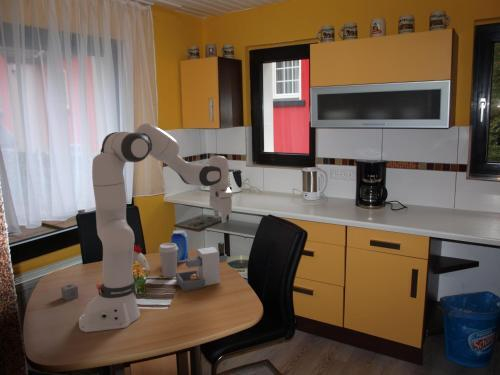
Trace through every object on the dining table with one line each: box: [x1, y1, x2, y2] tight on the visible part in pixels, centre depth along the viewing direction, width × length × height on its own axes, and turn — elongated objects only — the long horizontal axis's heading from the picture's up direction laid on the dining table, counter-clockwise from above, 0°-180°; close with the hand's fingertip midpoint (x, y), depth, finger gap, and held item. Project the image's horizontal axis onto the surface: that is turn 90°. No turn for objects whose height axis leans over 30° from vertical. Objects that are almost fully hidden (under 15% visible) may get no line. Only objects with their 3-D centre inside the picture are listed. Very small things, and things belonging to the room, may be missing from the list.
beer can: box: [170, 229, 189, 264], centre depth 224 cm, size 8×8×16 cm
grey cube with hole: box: [60, 282, 79, 302], centre depth 182 cm, size 5×5×5 cm
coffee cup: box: [157, 242, 178, 278], centre depth 204 cm, size 10×10×15 cm
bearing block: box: [196, 246, 221, 286], centre depth 196 cm, size 8×8×15 cm
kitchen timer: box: [133, 244, 151, 273], centre depth 207 cm, size 14×14×15 cm
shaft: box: [185, 241, 228, 268], centre depth 194 cm, size 18×4×8 cm, turn 114°
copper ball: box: [190, 274, 198, 281], centre depth 194 cm, size 4×4×4 cm
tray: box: [175, 269, 206, 293], centre depth 193 cm, size 10×13×4 cm
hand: (220, 220), depth 195 cm, fingers open, 8 cm apart
